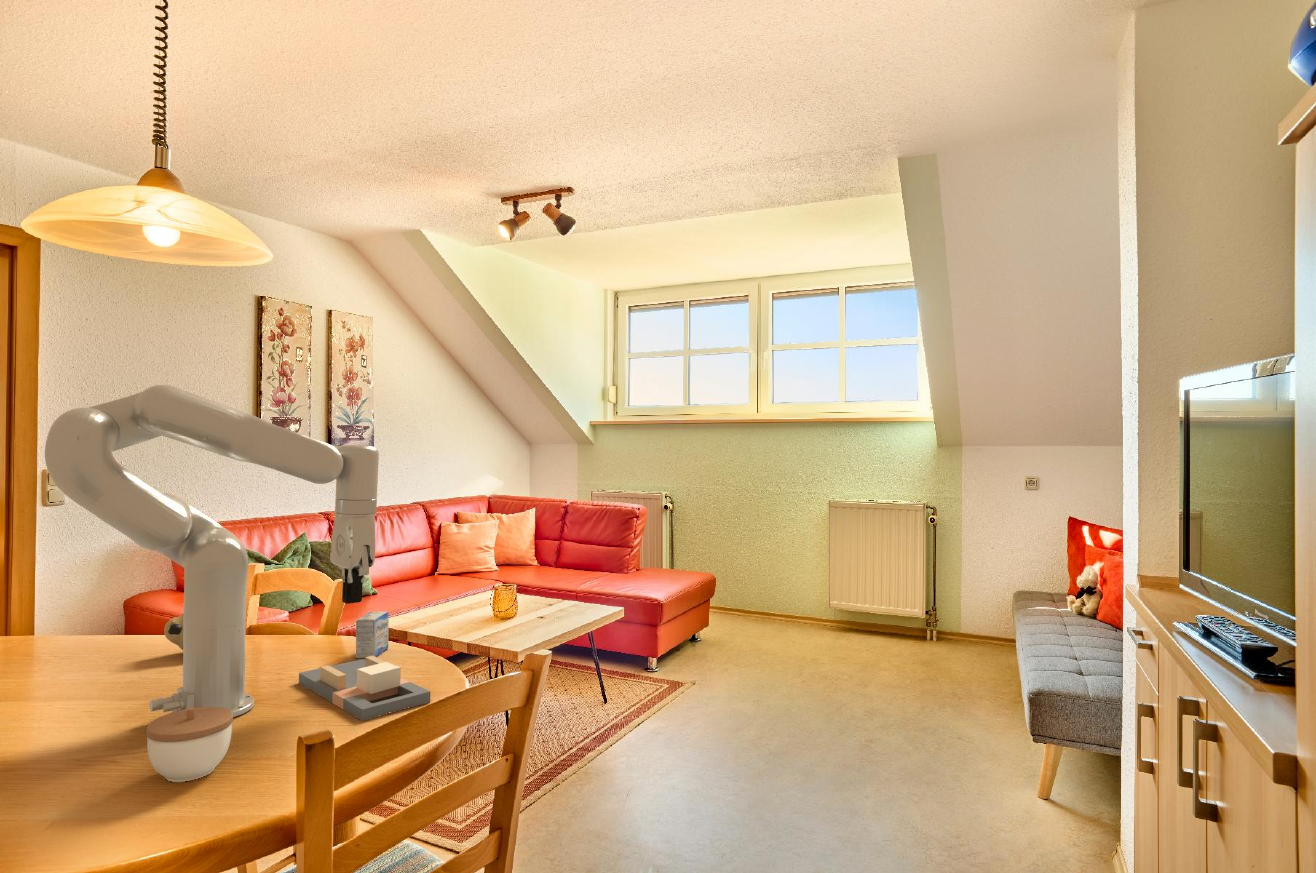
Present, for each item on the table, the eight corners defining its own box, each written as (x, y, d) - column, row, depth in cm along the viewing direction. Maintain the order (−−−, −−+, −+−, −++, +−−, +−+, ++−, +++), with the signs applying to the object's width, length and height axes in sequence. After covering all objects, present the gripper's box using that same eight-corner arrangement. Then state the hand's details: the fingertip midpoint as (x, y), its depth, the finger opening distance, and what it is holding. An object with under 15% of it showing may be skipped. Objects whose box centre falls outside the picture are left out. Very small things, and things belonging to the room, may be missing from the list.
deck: (362, 720, 129) (362, 694, 129) (298, 682, 148) (299, 660, 148) (430, 702, 139) (430, 677, 139) (362, 668, 157) (362, 647, 157)
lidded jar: (138, 771, 109) (139, 707, 109) (220, 750, 116) (221, 690, 116) (154, 798, 101) (155, 729, 101) (241, 773, 109) (242, 709, 109)
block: (371, 693, 137) (371, 674, 137) (356, 687, 140) (356, 669, 140) (400, 685, 141) (400, 667, 141) (385, 679, 144) (385, 661, 144)
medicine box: (375, 659, 164) (375, 619, 164) (355, 658, 164) (355, 619, 164) (388, 648, 172) (389, 611, 172) (369, 648, 172) (370, 610, 172)
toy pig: (163, 652, 166) (164, 604, 166) (225, 644, 173) (226, 598, 173) (163, 664, 158) (164, 613, 158) (229, 655, 165) (229, 607, 165)
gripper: (320, 505, 148) (316, 598, 148) (354, 512, 138) (350, 611, 138) (357, 504, 153) (353, 593, 153) (392, 510, 143) (388, 606, 143)
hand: (351, 601), depth 145 cm, fingers closed
